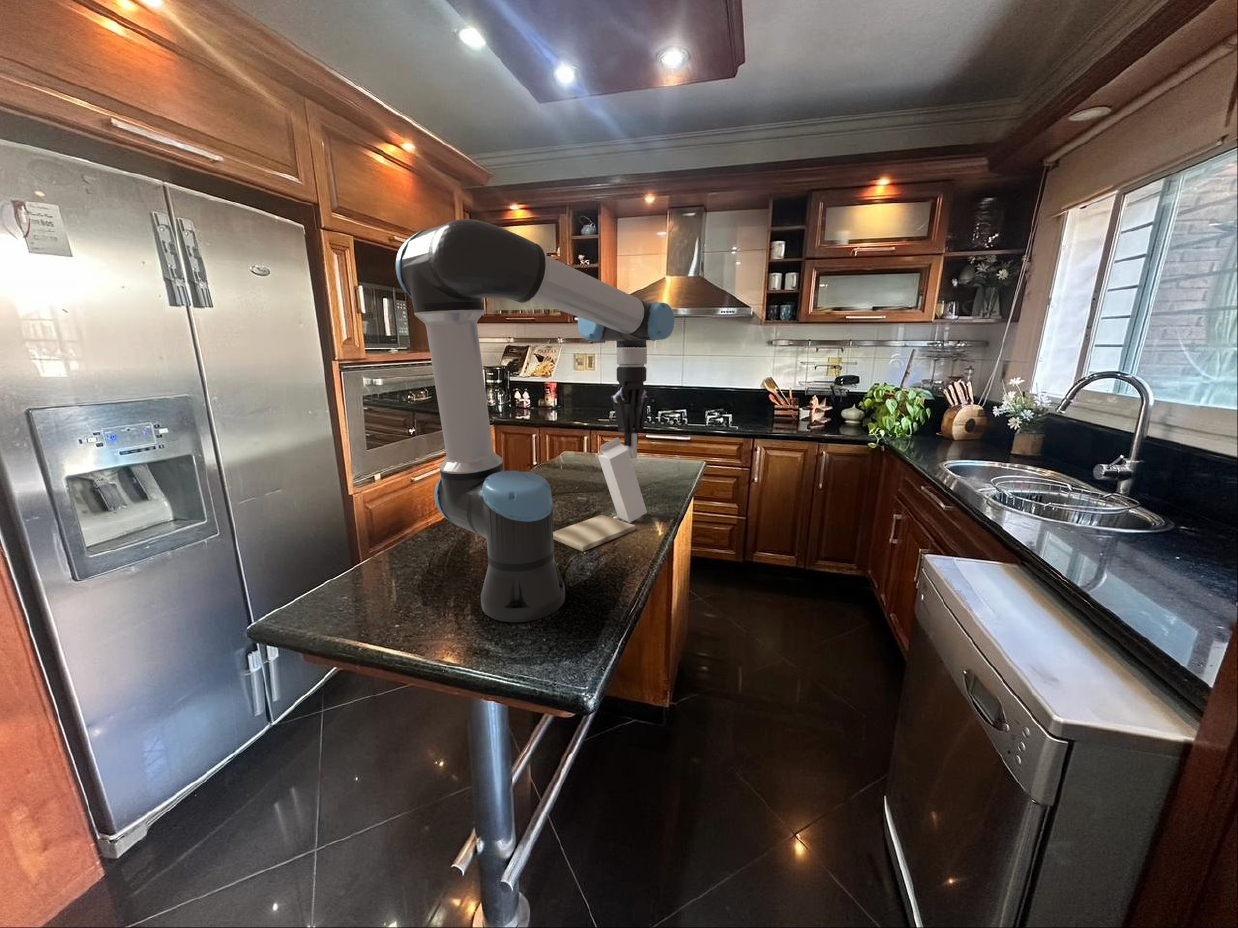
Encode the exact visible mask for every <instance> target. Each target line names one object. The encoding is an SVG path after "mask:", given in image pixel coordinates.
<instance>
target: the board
mask: <svg viewBox="0 0 1238 928" xmlns="http://www.w3.org/2000/svg"><path fill="white" fill-rule="evenodd" d="M635 530H636V525H635V524H632V523H629V522H627V521H624V520H620V519H617V518H613V517H610V516H607V515H604V514H600V515H597V516H593V517H591V518H589V519H586V520H583V521H580V522H577V523H574V524H571V525H568V526H566V527H563V528H560V529H557V530H555V531H554V530H553V541H554V540H555V542H559V543H560V544H561V543H562V544H564V545H566V546H569V547H571V548H573V549H576V550H578V551H581V552H586V551H587V550H590V549H592V548H595V547H598V546H599V545H602V544H605V543H606V542H607V543H608V542H609V541H611V540H613V539H616V538H619V537H622V536H624V535H626V534H629V533H630V532H633V531H635Z"/></svg>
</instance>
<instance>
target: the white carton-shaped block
mask: <svg viewBox="0 0 1238 928" xmlns="http://www.w3.org/2000/svg"><path fill="white" fill-rule="evenodd" d="M599 449H600V453H599V454H598V455H597V457H598V460H599V464H600V466H601V468H602V473H603V476H604V478H605V482H606V484H607V485H606V486H607V487H608V488H607V489H608V490H609V493H610V497H611V500H612V503H613V505H614V509H615V512H616V516H617V517H618V518H619V519H621V520H622V521H624V522H626V523H629V524H632V522H634V521H635V520H638V519H639V518H641V517H642V516H645V514H647V513H648V511H647V507H646V505H645V500H644V498H643V495H642V492H641V488H640V484H639V481H638V478H637V474H636V471H635V469H634V464H633V461H632V459H631V457H630V454H629V451H628V449H627V448H626V447H625V445H624V443H622V442H621V440H620V437H615V438H613V439H612V440H609V441H607V442H605V443H603V444H601V445H600V447H599Z"/></svg>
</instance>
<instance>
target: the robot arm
mask: <svg viewBox="0 0 1238 928" xmlns="http://www.w3.org/2000/svg"><path fill="white" fill-rule="evenodd" d="M395 272H396V273H395V274H396V276H397V277H396V278H397V280H398V283H399V285H400V288H402V290H403V291H404V293H406V294H407V295H408V296H409V298H410V299H411V302H412V306H413V308H412V309H413V314H414V316H415V317H416V318H418V320H420V321H421V322H422V323H424V326H425V328H426V335H427V341H428V347H429V353H430V360H431V368H432V373H433V377H434V384H435V385H434V386H435V391H436V392H435V393H436V397H437V405H438V411H439V416H440V417H439V418H440V424H441V430H442V431H441V432H442V436H443V443H444V448H445V449H444V451H445V455H446V457H445V459H444V460H443V461H442V463H440V465H439V472H440V476H439V480H438V482H436V484H435V487H434V502H435V505H436V508H437V510H438V512H439V513H440V514H441V515H442V517H443V518H445V519H446V520H448V521H449V522H450V523H451V524H452V525H454V526H457V527H459V528H461V529H465V530H467V531H469V532H471V533H474V534H476V535H478V536H480V537H482V538H484V539H485V540H486V547H487V562H488V563H487V564H488V565H487V568H486V569H487V570H486V574H485V577H484V582H483V584H482V585H483V586H482V588H481V592H480V603H481V604H480V605H481V609H482V611H483V613H484V614H485V615H486V616H487V617H489V618H491V619H492V620H496V621H499V622H505V623H526V622H532V621H536V620H541V619H542V618H546V617H548V616H550V615H552V614H553V613H555V612H556V611H558V610H559V609H560V608H562V606H563V604H564V603H565V600H566V589H565V588H566V587H565V582H564V580H563V577H562V575H561V573H560V570H559V568H558V565H557V563H556V560H555V547H554V546H555V545H554V539H553V532H554V516H553V515H554V514H553V513H554V512H553V510H554V502H553V501H554V500H553V497H552V491H551V486H550V484H549V482H548V481H547V480H546V478H544V477H543V476H541V475H539V474H536V473H534V472H530V471H519V470H504V469H505V468H504V462H503V461H504V460H503V458H502V457H501V456H500V455H498V454H497V453H496V452H495V451H494V447H493V440H492V433H491V432H492V431H491V425H490V424H491V423H490V417H489V407H488V401H487V400H488V399H487V394H486V393H487V392H486V387H485V386H486V384H485V377H484V375H485V374H484V369H483V368H484V367H483V361H482V355H481V345H480V337H479V330H478V321H479V320H480V318H481V317H482V316H483V315H484V313H485V307H484V299H487V298H492V299H494V298H495V299H497V298H499V299H505V300H506V299H507V300H511V301H514V302H518V303H520V304H527V303H530V302H531V301H533V302H536V303H539V304H542V305H544V306H547V307H550V308H553V309H556V310H558V311H561V312H564V313H567V314H569V315H571V316H575V317H577V329H578V333H579V334H580V335H581V336H580V337H582V338H583V339H584V340H586V341H593V342H616V365H618V366H617V367H616V381H617V382H618V383H619V384H618V388H617V392H616V393H615V394H612V395H610V399H611V402H612V405H613V407H614V413H615V420H616V426H617V431H618V432H621V433H623V435H624V436H623V438H624V439H623V445H624V446H625V447H626V448H627V449H628V451H629V454H630V457H631V460H634V459H637V458H638V453H637V452H638V444H639V443H638V442H639V434H641V433H642V430H644V428H645V423H646V417H647V411H648V406H649V405H648V404H649V400H650V398H651V395H652V393H651V392H647V390H645V388H646V387H645V384H644V382H646V381H647V367H646V366H645V365H647V363H648V360H647V359H648V357H647V355H648V352H647V350H648V349H647V347H648V345H647V342H648V341H652V342H656V341H660V340H666V339H668V338H669V337H670V336H671V334H672V333H673V331H674V327H675V321H676V319H675V314H674V310H673V309H672V307H671V306H670V305H669V304H668V303H667V302H659V301H654V302H648V301H644V300H643V299H640V298H639V297H636V296H634V295H632V294H629V293H628V292H625V291H623V290H621V289H619V288H617V287H615V286H612V285H610V284H608V283H606V282H604V281H602V280H599V279H598V278H595V277H593V276H592V275H589V274H587V273H585V272H582V271H581V270H578V269H576V268H574V267H572V266H569V265H567V264H565V263H563V262H561V261H559V260H556V259H555V258H553V257H551V256H548V255H547V254H546V252H545V250H544V248H543V247H542V246H541V244H538V243H536V242H534V241H532V240H530V239H528V238H526V237H524V236H522V235H519V234H517V233H514V232H512V231H510V230H508V229H506V228H503V227H500V226H498V225H495V224H492V223H489V222H486V221H483V220H478V219H472V218H459V219H454V220H451V221H449V222H447V223H444V224H440V225H438V226H435V227H432V228H426V229H423V230H420V231H418V232H416V233H414V234H413V235H412V236H410V237H409V238H408V239H406V240H405V241H404V242H403V244H402V245H401V246H400V248H399V249H398V252H397V254H396V259H395Z"/></svg>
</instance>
